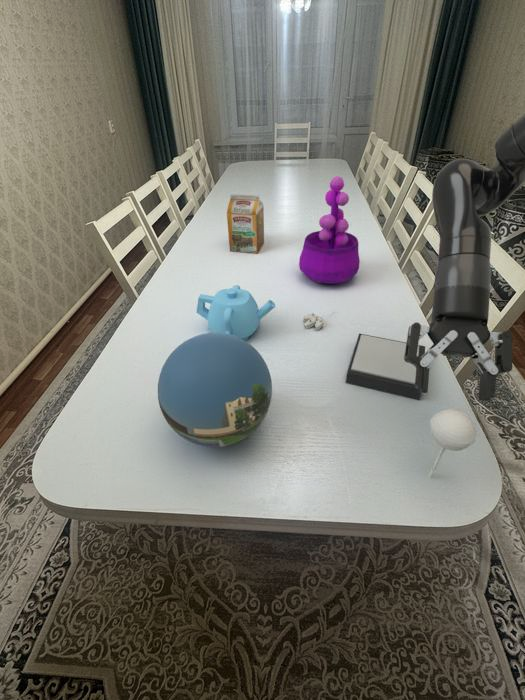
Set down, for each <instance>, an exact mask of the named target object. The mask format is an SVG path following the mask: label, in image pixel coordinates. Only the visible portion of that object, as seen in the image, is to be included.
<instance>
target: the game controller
mask: <svg viewBox="0 0 525 700" xmlns="http://www.w3.org/2000/svg"><path fill="white" fill-rule="evenodd" d="M334 313H335V311H333V312H332V313H331V314H329V315H328V317H330V316H332V315H333V314H334ZM323 317H324V315H322V316H321V317H320V316H319V315H317V314H315V313H314V312H312V313H307V314H306V315H304V316H303V317H302V318H303V322H304V324H303V325H304V329H305V330H308V329H310V328H312V327H315V330H316V331H319V330H320V329H322V328H323V327H324V320H323Z"/></svg>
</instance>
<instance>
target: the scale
mask: <svg viewBox="0 0 525 700" xmlns="http://www.w3.org/2000/svg"><path fill="white" fill-rule="evenodd" d="M406 343H407V341H406V342H405V341H400V340H395V339H390V338H385V337H380V336H374V335H369V334H365V333H358V335H357V339H356V343H355V346H354V349H353V352H352V356H351V359H350V362H349V365H348V368H347V372H346V377H345V384H349V385H354V386H357V387H361V388H366V389H369V390H373V391H379V392H382V393H386V394H390V395H396V396H399V397H403V398H408V399H412V400H417V401H420V399H421V396H422V393H419V389H417V388H416V387H415V379H416V367H415V366H414V365H413V364H410V363H407V362H405V360H404V356H405V349H406ZM425 352H426V346H425V345H422V344H418V349H417V356H418V357H420V358H421V357H422V356H423V355H424V354H425Z"/></svg>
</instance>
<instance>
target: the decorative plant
mask: <svg viewBox="0 0 525 700" xmlns="http://www.w3.org/2000/svg"><path fill="white" fill-rule="evenodd" d="M329 187H330V189H329V190H328V191H327V192H326V193H325V198H324V199H325V203H326V204H327V206H329V207H330V213H328V214H324V215H322V216H321V217H320V218H319V220H318V224H319V227H320V228H321V230H317V231H313V232H311V233H310V232H309V234H307V235H306V236H305V238H304V241H303V245H302V250H301V253H300V256H299V260H298V261H299V262H298V267H299V270H300V271H301V272H302V274H303V275H304V276H305V277H306V278H308V279H309V280H311V281H314V282H317V283H321V284H339V283H344V282H346V281H349V280H350V279H351V278H353V277H354V276H355V275H357V274H358V272H359V269H360V253H359V239H358V237H356V236H355V235H354V234H352V233H349V232H347V231H348V229H349V227H350V226H349V225H350V224H349V222H348V221H347V219H346V218H344V217H345V213H344V210H343V209H342V208H340V207H345V206H346V205H347V204H348V203H349V200H350V197H349V195H348V193H346V192H344V191H342V190H343V189H344V187H345V181H344V179H343V178H342V177H341V176H334V177H333V178H332V179H331V180H330V182H329Z"/></svg>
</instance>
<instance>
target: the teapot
mask: <svg viewBox="0 0 525 700" xmlns="http://www.w3.org/2000/svg"><path fill="white" fill-rule="evenodd" d="M206 303H207V304H210V305H209V308H207V307H206ZM196 305H197V306H196V314H197V315H199V316H200V317H202V318H204V319H205V320H206V321H207V327H208V330H209V331H210V332H211V333H225V334H230V335H233V336H236V337H239V338H241V339H243V340H244V341H247V340H248V339H249V338H250V336H252V335H253V334H254V333H255V332H256V330H257V329H258V328H259V325H260V321H261V320H262V319H263V318H264V317H265V316H267V314H269V313H270V312H271V311H272V310H274V309H275V308H276V303H275V302H274V301H273V300H272V299H269V300H267V302H266V303H264V304H263V306H261V307H260V308H259V306H258V303H257V301H256V300H255V298H254V296H253V294H251V292H250V291H248V290H247V289H243V288H242V289H241V286H240V285H237V284H235V285H233V286H232V287H231V288H223V289H220V290H218V291H217V292H216V293H215V295H208V294H202V293H200V294H199V296H198V300H197V304H196Z"/></svg>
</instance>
